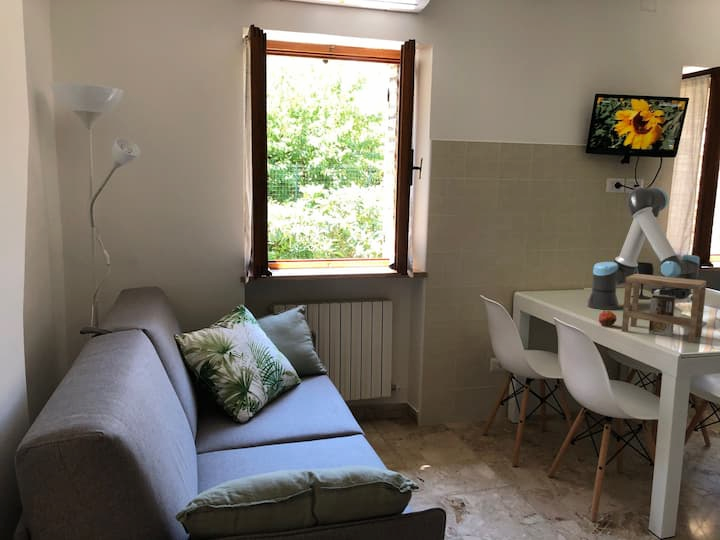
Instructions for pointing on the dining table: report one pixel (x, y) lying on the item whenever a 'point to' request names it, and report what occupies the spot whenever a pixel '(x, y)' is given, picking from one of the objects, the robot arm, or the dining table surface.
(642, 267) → the wine glass
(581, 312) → the dining table surface
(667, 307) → the coffee box
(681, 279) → the walnut table
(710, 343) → the dining table surface
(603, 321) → the pomegranate
